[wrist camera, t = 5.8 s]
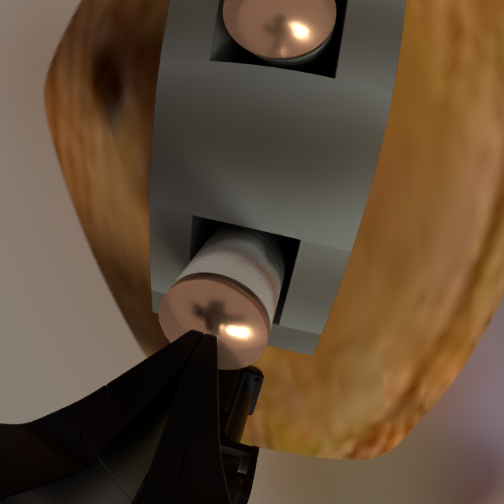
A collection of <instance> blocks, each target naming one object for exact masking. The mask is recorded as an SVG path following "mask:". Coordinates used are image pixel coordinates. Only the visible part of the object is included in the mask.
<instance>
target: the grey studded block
mask: <svg viewBox="0 0 504 504" xmlns="http://www.w3.org/2000/svg"><path fill="white" fill-rule="evenodd" d="M224 1H225V0H170V4H169V9H168V14H167V20H166V25H165V31H164V37H163V44H162V50H161V57H160V64H159V72H158V80H157V89H156V99H155V109H154V121H153V134H152V149H151V170H150V214H149V227H150V272H151V293H152V309H153V312H154V313H157V314H159V306H160V303H161V300H162V299H163V297H164V296H165V294H166V293H167V292H168V290H169V289H170V288H171V286H172V285H173V284H174V283H175V281H176V280H177V279H178V277H179V276H180V275H181V273H182V272H183V271H184V270H185V268H186V267H187V266H188V264H189V263H190V262H191V261H192V259H193V258H194V257H195V255H196V254H197V253H198V252H199V250H200V249H201V248H202V247H203V245H204V244H205V243H206V242H207V240H208V239H209V238H210V236H211V235H212V234H213V233H214V231H215V230H216V229H217V228H218V226H219V225H220V224H221V223H222V222H226V223H230V224H235V225H239V226H244V227H248V228H253V229H257V230H261V231H266V232H270V233H274V234H279V235H283V236H287V237H292V238H296V239H298V243H297V247H296V251H295V255H294V259H289V258H288V262H287V267H286V271H285V275H284V279H283V283H282V287H281V291H280V295H279V299H278V303H277V307H276V311H275V315H274V319H273V323H272V327H271V330H270V334H269V338H268V342H267V345H269V346H273V347H277V348H281V349H285V350H290V351H294V352H299V353H303V354H308V355H313V353H314V350H315V348H316V346H317V343H318V341H319V338H320V336H321V333H322V331H323V328H324V326H325V323H326V321H327V318H328V315H329V313H330V310H331V307H332V305H333V302H334V299H335V297H336V294H337V291H338V288H339V286H340V283H341V280H342V277H343V274H344V271H345V269H346V266H347V263H348V260H349V257H350V254H351V251H352V248H353V244H354V241H355V238H356V235H357V232H358V229H359V225H360V222H361V219H362V215H363V212H364V209H365V205H366V202H367V198H368V195H369V191H370V188H371V184H372V180H373V176H374V173H375V169H376V165H377V161H378V157H379V153H380V149H381V145H382V140H383V136H384V132H385V127H386V123H387V118H388V113H389V109H390V104H391V99H392V94H393V88H394V83H395V77H396V71H397V65H398V59H399V53H400V46H401V39H402V31H403V23H404V14H405V4H406V0H335V4H336V16H341V17H342V21H341V28H340V34H339V40H338V46H337V52H336V58H335V64H334V70H333V76H332V78H329V77H324V76H320V75H315V74H310V73H305V72H299V71H293V70H287V69H281V68H274V67H267V66H259V65H251V60H252V53H251V52H250V51H248V50H247V49H245V48H244V47H242V46H241V45H240V44H238V43H237V42H236V41H235V40H234V39H233V38H232V36H231V35H230V34H229V32H228V30H227V28H226V26H225V23H224V19H223V4H224Z"/></svg>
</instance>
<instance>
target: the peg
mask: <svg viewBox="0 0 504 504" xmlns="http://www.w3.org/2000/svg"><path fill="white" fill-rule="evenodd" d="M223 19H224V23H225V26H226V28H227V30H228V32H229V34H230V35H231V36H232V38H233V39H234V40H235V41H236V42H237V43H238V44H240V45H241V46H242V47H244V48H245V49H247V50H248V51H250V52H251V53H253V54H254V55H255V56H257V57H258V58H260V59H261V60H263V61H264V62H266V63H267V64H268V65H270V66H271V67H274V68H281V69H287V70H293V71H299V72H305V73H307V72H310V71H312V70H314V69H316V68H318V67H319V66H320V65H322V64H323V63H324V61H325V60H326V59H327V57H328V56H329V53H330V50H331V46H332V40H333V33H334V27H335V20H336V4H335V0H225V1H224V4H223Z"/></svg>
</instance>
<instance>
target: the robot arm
mask: <svg viewBox="0 0 504 504" xmlns="http://www.w3.org/2000/svg"><path fill="white" fill-rule="evenodd" d="M263 379H264V376H263V374H261V373H259V372H255V371H251V370H248V369H244V368H240V369H234V370H223V369H218V337H217V336H214V335H211V334H207V333H206V334H204V333H203V332H200V331H197V330H194V329H192V330H189V331H188V332H186V333H185V334H183V335H182V336H180V337H179V338H177V339H176V340H174V341H173V342H171V343H170V344H168V345H167V346H165V347H164V348H162V349H161V350H159V351H158V352H156V353H154V354H153V355H151V356H150V357H148V358H147V359H145V360H144V361H142V362H141V363H139V364H138V365H136V366H135V367H133V368H131V369H130V370H128V371H127V372H125V373H123V374H122V375H120V376H119V377H117V378H116V379H114V380H112V381H111V382H110V383H108V384H107V386H103V387H101V388H100V389H98V390H96V391H95V392H93V393H91V394H90V395H88V396H86V397H84V398H83V399H81V400H79V401H77V402H75V403H73V404H71V405H69V406H66V407H64V408H62V409H60V410H58V411H56V412H53V413H51V414H49V415H46V416H44V417H42V418H39V419H37V420H34V421H32V422H28V423H23V424H2V423H0V504H247V503H248V500H249V496H250V493H251V489H252V484H253V479H254V474H255V469H256V463H257V457H258V452H259V447H257V446H253V445H252V446H249V445H245V444H241V443H240V441H241V437H242V434H243V431H244V427H245V424H246V420H247V417H248V415H252V414H253V412H254V408H255V405H256V402H257V399H258V395H259V392H260V389H261V386H262V382H263ZM238 470H239V472H238Z"/></svg>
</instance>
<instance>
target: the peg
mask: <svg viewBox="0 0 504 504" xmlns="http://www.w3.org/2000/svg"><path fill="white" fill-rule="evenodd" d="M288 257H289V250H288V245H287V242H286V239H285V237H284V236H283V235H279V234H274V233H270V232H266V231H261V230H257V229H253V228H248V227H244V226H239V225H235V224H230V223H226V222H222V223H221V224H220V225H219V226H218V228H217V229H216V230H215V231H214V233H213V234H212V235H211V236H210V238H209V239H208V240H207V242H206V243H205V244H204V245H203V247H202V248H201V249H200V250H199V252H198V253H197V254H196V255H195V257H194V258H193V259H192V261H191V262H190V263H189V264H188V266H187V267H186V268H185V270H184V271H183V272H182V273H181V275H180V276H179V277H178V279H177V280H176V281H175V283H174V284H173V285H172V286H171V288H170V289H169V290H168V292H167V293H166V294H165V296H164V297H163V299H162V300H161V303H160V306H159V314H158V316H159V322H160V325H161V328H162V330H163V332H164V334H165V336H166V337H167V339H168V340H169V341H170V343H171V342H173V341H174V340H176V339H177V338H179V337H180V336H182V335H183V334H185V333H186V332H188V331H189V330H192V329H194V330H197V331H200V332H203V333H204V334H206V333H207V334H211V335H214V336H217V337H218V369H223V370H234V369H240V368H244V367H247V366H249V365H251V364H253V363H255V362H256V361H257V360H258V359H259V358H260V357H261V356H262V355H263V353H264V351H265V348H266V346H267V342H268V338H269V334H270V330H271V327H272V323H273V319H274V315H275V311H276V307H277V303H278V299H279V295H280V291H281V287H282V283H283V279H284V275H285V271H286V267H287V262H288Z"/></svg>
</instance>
